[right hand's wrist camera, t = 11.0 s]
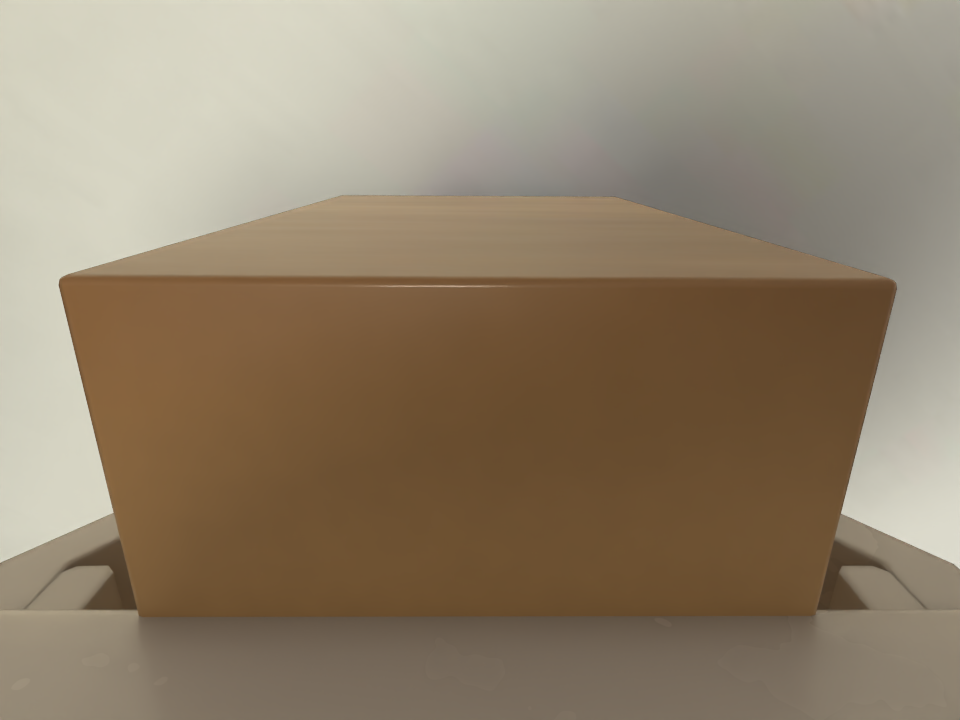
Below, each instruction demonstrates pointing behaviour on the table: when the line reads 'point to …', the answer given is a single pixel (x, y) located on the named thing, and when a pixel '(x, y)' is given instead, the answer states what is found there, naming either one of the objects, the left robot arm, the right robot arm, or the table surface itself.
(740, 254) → the bar
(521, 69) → the table surface
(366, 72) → the table surface
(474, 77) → the table surface
